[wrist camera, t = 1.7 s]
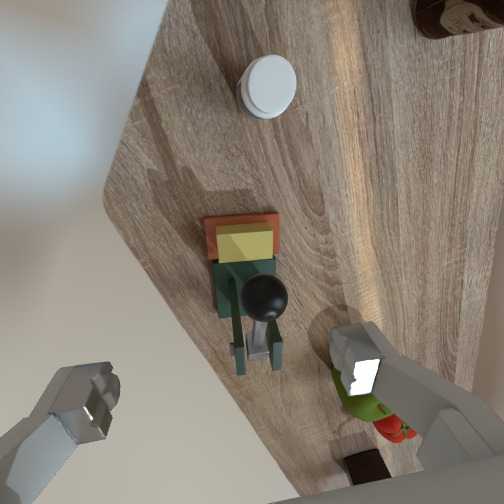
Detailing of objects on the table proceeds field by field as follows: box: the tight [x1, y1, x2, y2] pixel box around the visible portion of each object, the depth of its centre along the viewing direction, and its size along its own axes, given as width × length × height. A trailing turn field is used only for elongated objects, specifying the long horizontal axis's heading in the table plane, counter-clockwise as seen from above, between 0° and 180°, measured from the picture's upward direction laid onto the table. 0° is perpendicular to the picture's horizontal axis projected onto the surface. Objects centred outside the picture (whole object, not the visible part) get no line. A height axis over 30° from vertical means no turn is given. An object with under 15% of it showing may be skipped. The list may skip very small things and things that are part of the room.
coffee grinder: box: [344, 449, 392, 486], centre depth 65 cm, size 16×11×18 cm
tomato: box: [372, 414, 418, 443], centre depth 55 cm, size 13×12×8 cm
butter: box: [204, 212, 279, 263], centre depth 34 cm, size 6×10×4 cm, turn 92°
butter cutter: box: [213, 255, 284, 375], centre depth 33 cm, size 10×9×14 cm
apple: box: [331, 367, 394, 422], centre depth 47 cm, size 11×11×11 cm
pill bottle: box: [236, 55, 296, 119], centre depth 24 cm, size 5×5×8 cm
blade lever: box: [240, 274, 288, 361], centre depth 24 cm, size 15×4×4 cm, turn 2°
